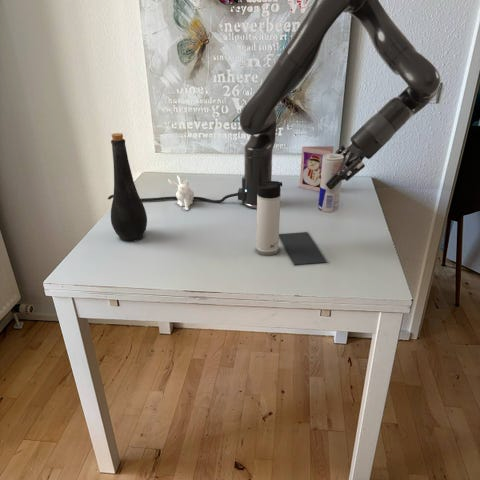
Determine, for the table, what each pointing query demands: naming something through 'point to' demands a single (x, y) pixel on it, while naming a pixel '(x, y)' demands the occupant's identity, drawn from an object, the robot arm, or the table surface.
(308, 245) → the mat
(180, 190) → the rabbit figurine
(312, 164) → the greeting card
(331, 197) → the beverage can
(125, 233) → the bottle
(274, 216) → the travel mug
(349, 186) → the table surface
